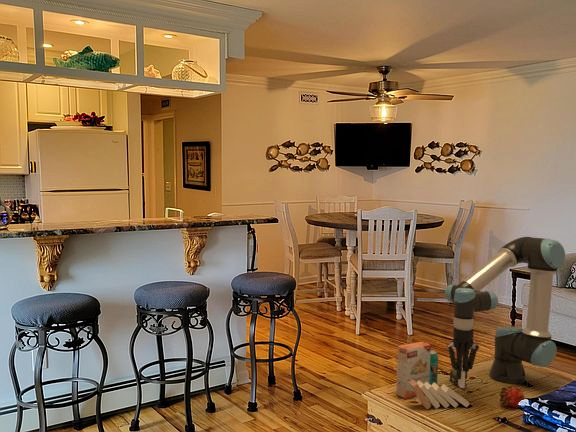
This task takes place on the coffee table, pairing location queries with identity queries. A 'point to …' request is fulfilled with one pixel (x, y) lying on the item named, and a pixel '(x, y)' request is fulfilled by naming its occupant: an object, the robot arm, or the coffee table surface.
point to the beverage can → (433, 367)
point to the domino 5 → (455, 395)
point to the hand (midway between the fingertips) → (461, 386)
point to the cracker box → (412, 367)
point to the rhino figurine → (454, 377)
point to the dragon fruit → (511, 396)
